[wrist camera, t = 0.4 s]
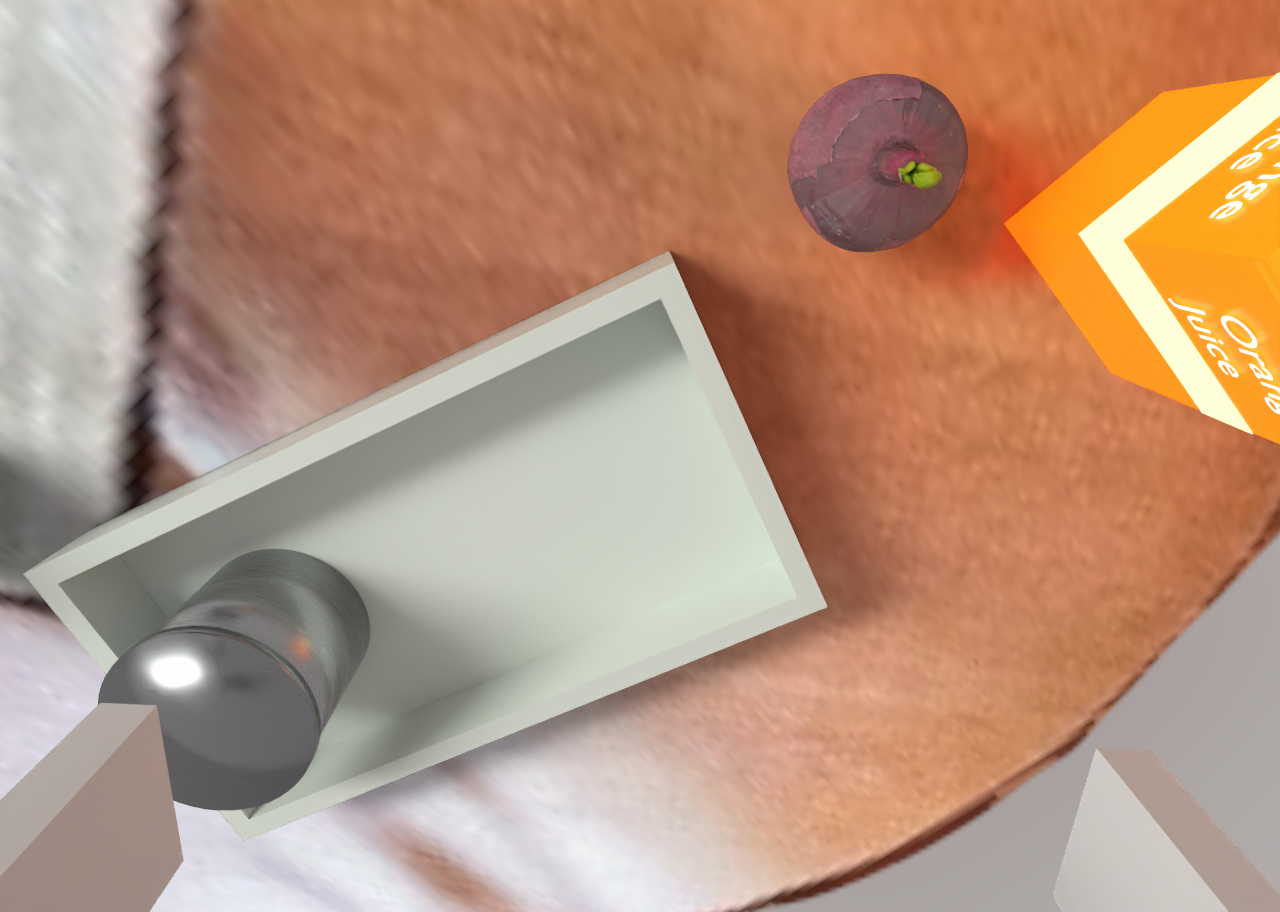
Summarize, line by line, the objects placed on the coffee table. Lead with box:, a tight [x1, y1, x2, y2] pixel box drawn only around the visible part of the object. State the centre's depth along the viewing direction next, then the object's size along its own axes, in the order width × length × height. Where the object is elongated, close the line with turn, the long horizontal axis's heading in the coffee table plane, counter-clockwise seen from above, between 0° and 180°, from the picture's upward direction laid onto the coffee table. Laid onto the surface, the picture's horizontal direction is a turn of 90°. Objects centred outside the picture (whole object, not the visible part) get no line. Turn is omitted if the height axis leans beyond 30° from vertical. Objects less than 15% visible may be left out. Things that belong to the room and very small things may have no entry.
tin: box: [98, 549, 370, 811], centre depth 35 cm, size 8×8×8 cm
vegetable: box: [787, 74, 968, 252], centre depth 28 cm, size 6×6×10 cm
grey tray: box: [23, 251, 827, 841], centre depth 36 cm, size 16×30×4 cm, turn 115°
